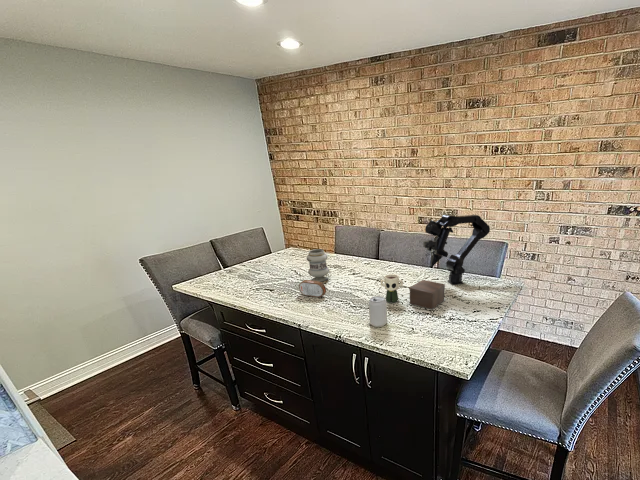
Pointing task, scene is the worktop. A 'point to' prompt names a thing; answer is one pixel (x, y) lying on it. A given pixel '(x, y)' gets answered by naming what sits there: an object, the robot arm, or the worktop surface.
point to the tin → (312, 288)
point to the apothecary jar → (318, 265)
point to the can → (378, 311)
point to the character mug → (391, 286)
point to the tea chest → (427, 298)
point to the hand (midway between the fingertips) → (431, 266)
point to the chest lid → (427, 287)
